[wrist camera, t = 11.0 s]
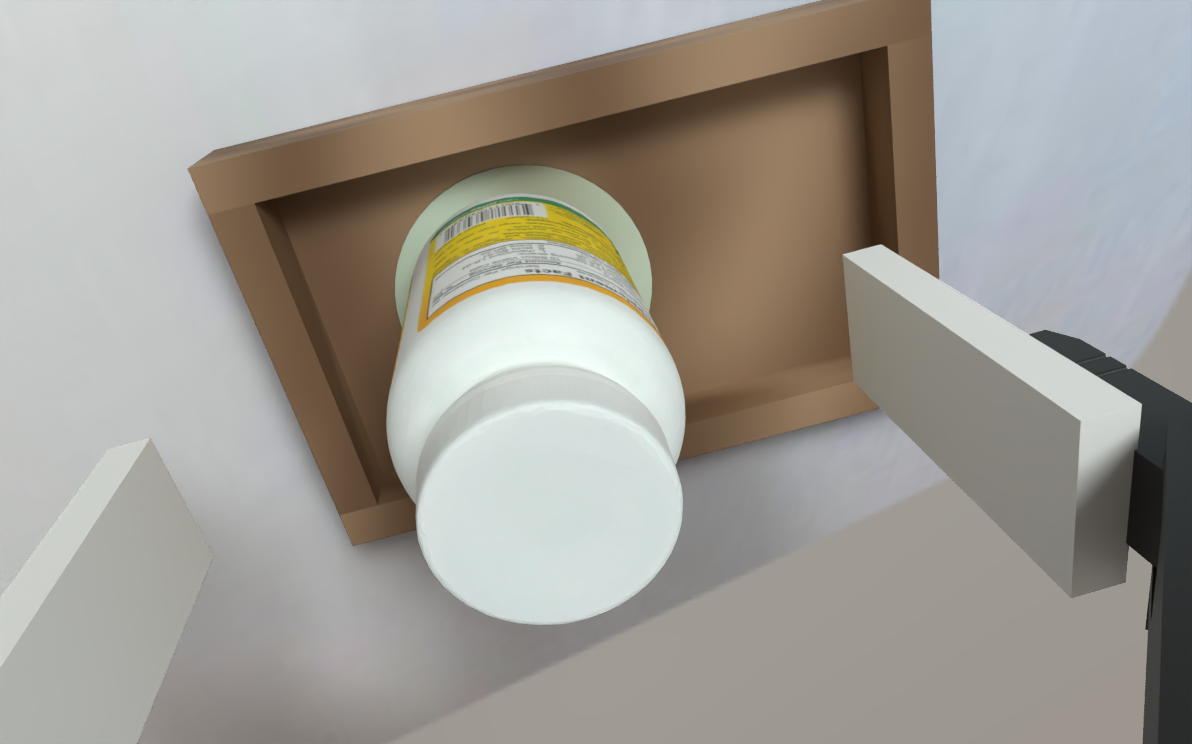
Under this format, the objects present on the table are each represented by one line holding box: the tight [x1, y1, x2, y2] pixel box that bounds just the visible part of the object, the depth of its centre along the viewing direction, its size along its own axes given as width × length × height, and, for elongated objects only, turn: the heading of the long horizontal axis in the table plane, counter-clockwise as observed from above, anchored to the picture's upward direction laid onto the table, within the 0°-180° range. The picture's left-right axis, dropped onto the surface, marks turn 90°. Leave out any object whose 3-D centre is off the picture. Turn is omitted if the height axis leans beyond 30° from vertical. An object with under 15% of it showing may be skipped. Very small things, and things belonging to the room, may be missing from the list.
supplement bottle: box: [386, 193, 685, 625], centre depth 17 cm, size 5×5×10 cm
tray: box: [188, 0, 939, 546], centre depth 21 cm, size 16×10×2 cm, turn 102°
